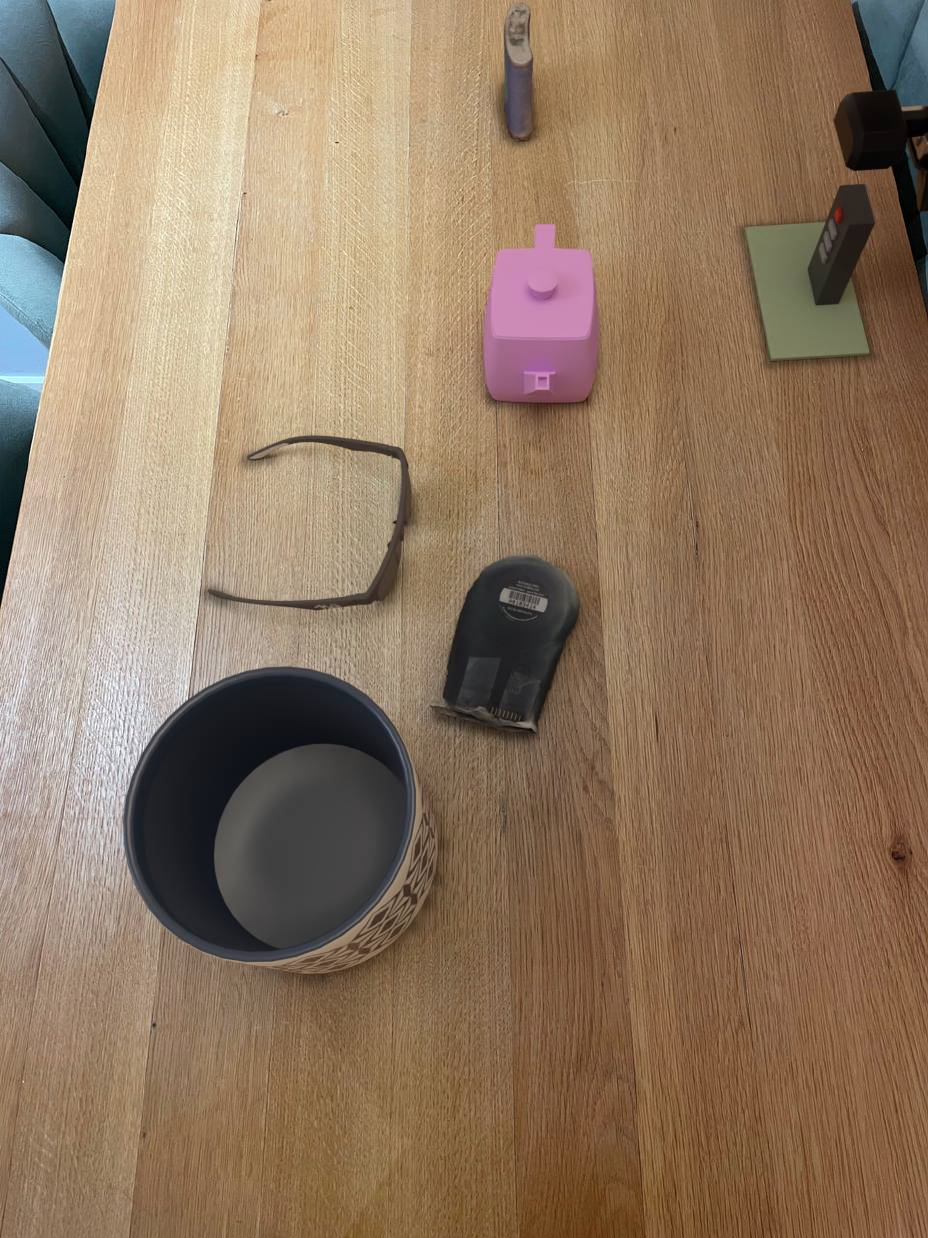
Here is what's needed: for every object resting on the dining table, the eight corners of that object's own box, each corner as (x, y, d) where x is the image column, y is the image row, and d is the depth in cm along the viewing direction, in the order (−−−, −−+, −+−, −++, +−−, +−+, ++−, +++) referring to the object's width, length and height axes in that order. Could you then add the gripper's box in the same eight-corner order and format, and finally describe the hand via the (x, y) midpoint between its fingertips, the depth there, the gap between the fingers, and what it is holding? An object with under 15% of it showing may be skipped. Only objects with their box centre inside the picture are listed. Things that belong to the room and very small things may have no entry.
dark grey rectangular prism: (830, 267, 91) (865, 183, 81) (838, 304, 89) (875, 222, 80) (803, 268, 91) (836, 185, 82) (812, 305, 89) (845, 224, 80)
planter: (205, 746, 76) (127, 680, 61) (429, 722, 76) (406, 650, 61) (202, 987, 69) (113, 980, 54) (449, 961, 69) (429, 947, 54)
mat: (744, 229, 94) (745, 226, 93) (836, 223, 93) (837, 220, 93) (770, 361, 87) (771, 358, 87) (868, 355, 87) (869, 352, 87)
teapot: (595, 441, 85) (605, 369, 76) (479, 438, 86) (474, 368, 76) (597, 284, 92) (605, 201, 82) (489, 283, 93) (485, 200, 83)
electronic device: (548, 746, 76) (592, 573, 79) (538, 734, 71) (585, 550, 74) (440, 720, 79) (487, 554, 82) (423, 706, 73) (473, 530, 77)
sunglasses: (396, 633, 79) (381, 609, 74) (212, 616, 82) (188, 592, 78) (431, 465, 85) (420, 433, 80) (259, 455, 88) (239, 424, 84)
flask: (532, 141, 100) (534, 45, 90) (505, 142, 100) (503, 47, 90) (529, 80, 103) (530, -19, 93) (502, 81, 103) (500, -17, 94)
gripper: (899, 125, 64) (830, 288, 78) (1180, 105, 63) (1058, 273, 78) (867, 15, 68) (806, 188, 83) (1129, -5, 68) (1023, 173, 82)
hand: (922, 207), depth 81 cm, fingers closed
